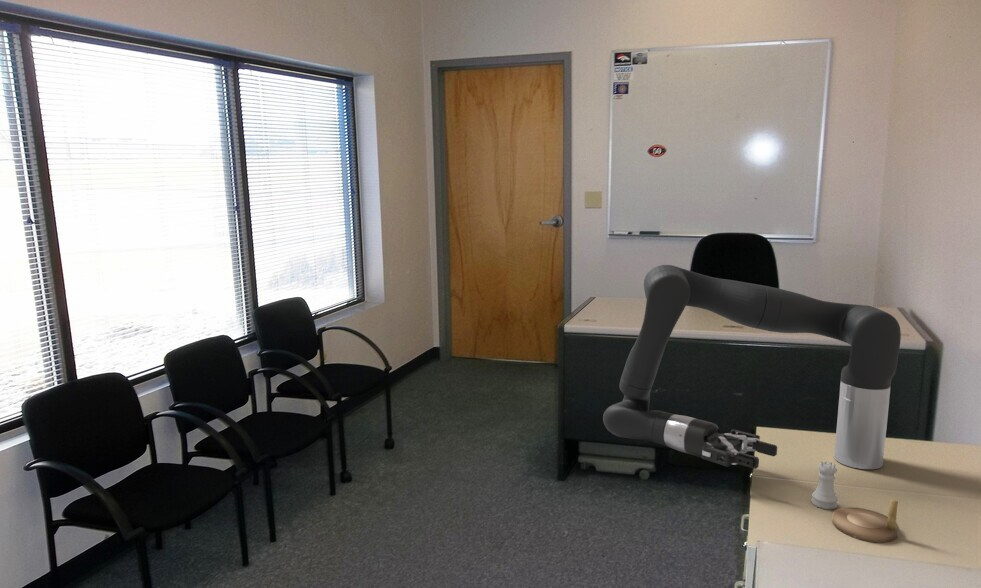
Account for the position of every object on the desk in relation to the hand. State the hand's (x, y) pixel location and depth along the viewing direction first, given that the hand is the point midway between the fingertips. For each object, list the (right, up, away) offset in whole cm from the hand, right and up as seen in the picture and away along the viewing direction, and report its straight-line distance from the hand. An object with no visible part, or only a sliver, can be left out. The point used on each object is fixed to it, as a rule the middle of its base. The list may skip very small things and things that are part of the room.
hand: (767, 457), depth 135 cm
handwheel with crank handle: (+11, -9, -15) cm, 20 cm away
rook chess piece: (+8, -7, -7) cm, 13 cm away
